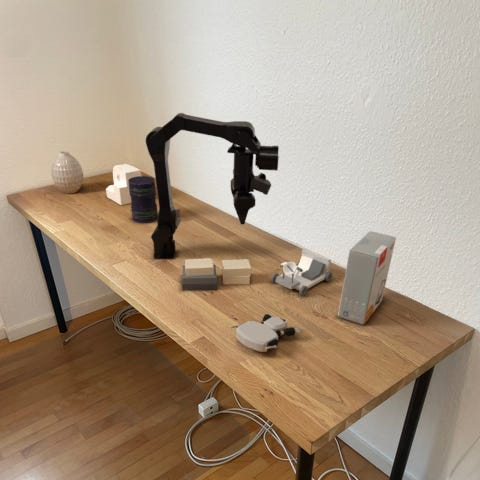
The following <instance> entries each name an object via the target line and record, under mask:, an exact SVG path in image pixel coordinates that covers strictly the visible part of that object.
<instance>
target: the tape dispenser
mask: <svg viewBox="0 0 480 480" xmlns="http://www.w3.org/2000/svg"><path fill="white" fill-rule="evenodd" d="M138 176H142V170H141V169H139V168H137V167H135V166H133V165H131V164H128V163H123V164H118V165H114V166H113V168H112V180H113V184H110V185H108V186H107V187H106V188H105V193H106V198H108V199H109V200H111V201H113V202H115V203H117V204H118V205H120V206H124V205H128V204H131V196H130V194H129V193H130V192H129V182H128V180H129V179H130V178H133V177H138Z"/></svg>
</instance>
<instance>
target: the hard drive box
mask: <svg viewBox="0 0 480 480" xmlns="http://www.w3.org/2000/svg"><path fill="white" fill-rule="evenodd" d="M396 240H397V236H393V235H390V234H385V233H382V232H381V233H380V232H377V231H372V230H369V231H368V232H367V233H366V234H364V236H363V237H362V238H361V239H360V240H359V241H358V242H357V243H356V244H355V245H354V246H352V248H350V249H349V251H348V256H347V262H346V267H345V274H344V279H343V283H342V290H341V296H340V301H339V305H338V312H337V317H339V318H341V319H344V320H347V321H350V322H352V323H353V322H354V323H356V324H360V325H362V326H363V325H365V324H366V322H367V321H368V320H369V319H370V317H371V316H372V315H373V313H374V312H375V311H376V309H377V308H378V307H379V305H380V304H381V303H382V301H383V297H384V293H385V288H386V285H387V284H386V283H387V280H388V275H389V271H390V266H391V261H392V257H393V254H394V248H395V245H396Z"/></svg>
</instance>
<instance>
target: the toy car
mask: <svg viewBox="0 0 480 480" xmlns="http://www.w3.org/2000/svg"><path fill="white" fill-rule="evenodd" d="M330 266H331V258H328V257H325V256H324V255H320V254H318V253H317V252H316V253H315V252H313V251H310V250H309V249H306V248H304V249H302V250H301V257H300V260H298V262H297V264H296V263H295V262H294V261H284V262H281V263H280V266H279V267H280V268H282V273H281V274H279V273H278V272H274V273H273V274H272V275H271V277H270V281H271V283H273V284H278V285H281V286H283V287H285V288H287V289H289V290H293V289H295V290H297V291H298V295H300V296H301V297H304V296H305V295H306V294H307V293H308V290H309V289H310V288H311V287H314V286H315V285H317V284H319V283H321V282H322V281H325V282H330V281H331V280H332V278H333V271H332V272H331V271H330V269H331V268H330Z"/></svg>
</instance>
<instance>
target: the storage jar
mask: <svg viewBox="0 0 480 480" xmlns="http://www.w3.org/2000/svg"><path fill="white" fill-rule="evenodd" d="M128 182H129V192H130V193H129V194H130V196H131V203H130V212H131V217H132V218H131V219H132V221H133V222H134V223H138V224H151V223H154V222H156V221H158V204H157V200H156V199H157V198H156V195H157V186H156V178H155V177H152V176H147V175H141V176H138V177H133V178H130V179H129V180H128Z"/></svg>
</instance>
